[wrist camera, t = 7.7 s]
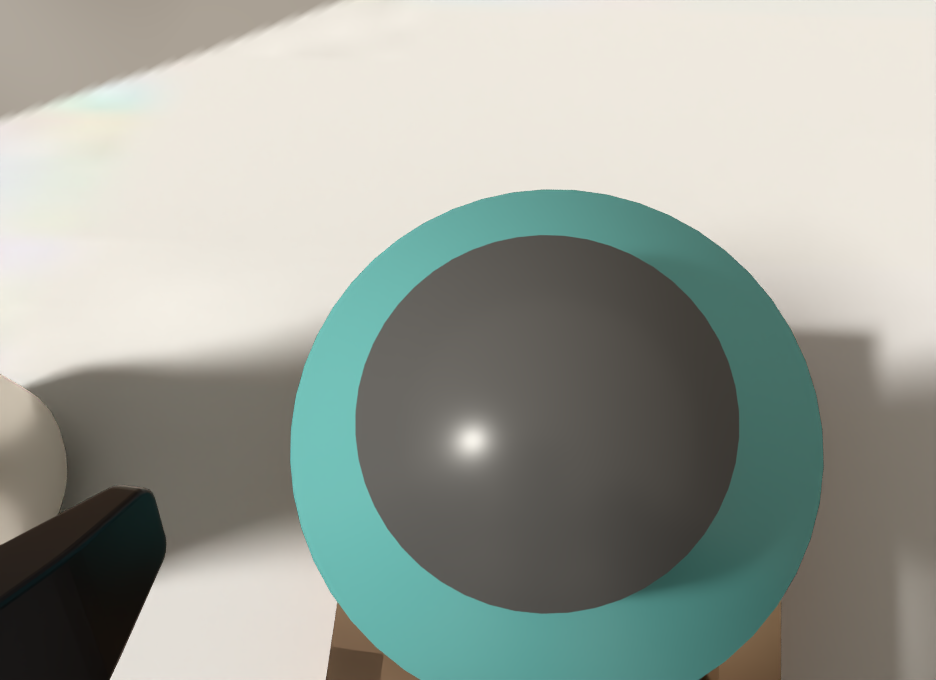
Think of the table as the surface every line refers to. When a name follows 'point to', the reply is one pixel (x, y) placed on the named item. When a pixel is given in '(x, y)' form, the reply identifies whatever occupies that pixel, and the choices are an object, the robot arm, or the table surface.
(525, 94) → the table surface
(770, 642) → the tray
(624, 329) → the teal rounded cylinder
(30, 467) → the plastic bottle
